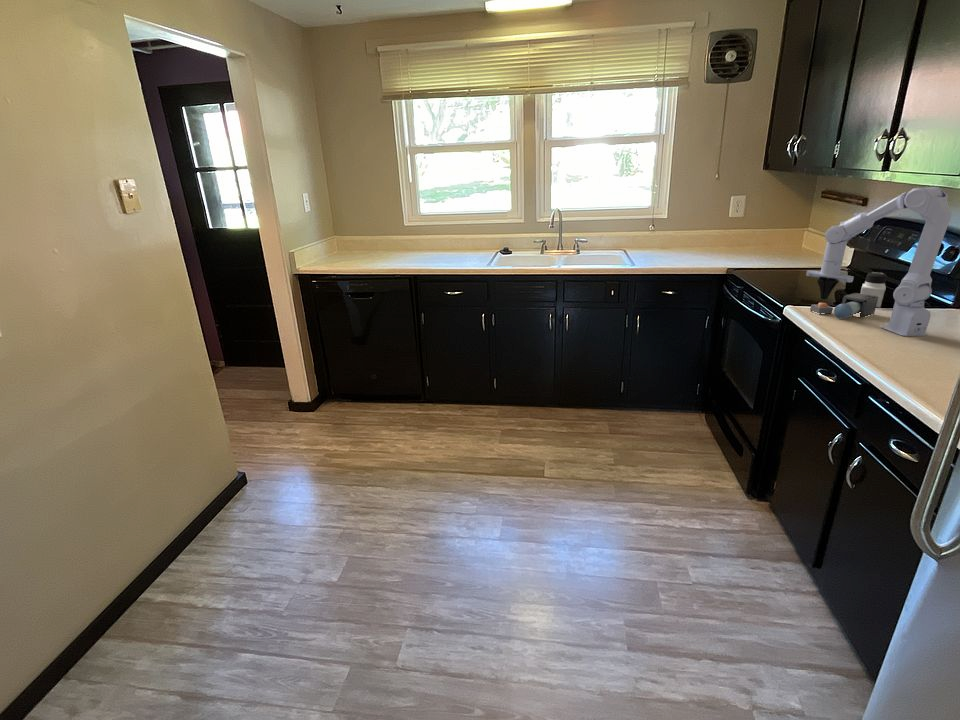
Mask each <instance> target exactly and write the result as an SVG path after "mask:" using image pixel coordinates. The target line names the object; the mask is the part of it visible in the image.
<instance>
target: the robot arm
mask: <svg viewBox="0 0 960 720" xmlns="http://www.w3.org/2000/svg"><path fill="white" fill-rule="evenodd" d="M948 197H949V195H948V194H947V193H946V192H945V190H943V189H942V188H941V187H939V186H929V187H914V188H912V189H910V190H909V191H905V192H902V194H899V195H898V196H895V198H893V199H891V200H889V201H888V202H886V203H884V204H882V205H881V206H879V207H876V208H875V209H873V210H871V211H870V212H865V211H863V212H856V213H854V214H853V217H851V218H849V219H847V220H845V221H841V222H839V225H832V226H830V227H829V228H827V230H826V231H825V234H824V239H825V240H826V245H825V250H824V254H823V258H822V263H821V268H820V270H812V269H810V270H809V269H808V270H806V274H805V276H806V277H813V278H818V279H817V281H816V282H817V284H818V286H819V291H820V292H819V293H820V299H821V300H828V299H829V297H830V294H831V292H832V291H833V290H834V288H835V287H836V286H837V284H839V282H846V283H853V281H854V278H855V277H854V276H855V275H854V276H852V275H850V274H849V275H848V274H844V273H841V269H842V265H843V260H844V257H845V252H846V247H847V244H848V242H849V241H850V240H852V238H853V237H855V236H857V235H859V234H861V233H863V232H865V231H867V230H869V229H871V228H873V225H874V223H875V222H876V221H879V220H881V219H883V218H885V217H887V216H889V215H891V214H893V213H896V212H898V211H900V210H902V209H909V210H911V211H913V212H915V213H917V214H918V215H919V216H920V217H922V219H923V220H924V221H925V224H924V226H923V228H922V230H921V231H922V232H921V235H920V238H919V240H918V243H917V246H916V249H915V252H914V255H913V257H912V260H911V263H910V266H909V269H908V272H907V273H906V274H905V275H904V277H902V279H901V280H900V281H901V282H900V284H899V285H898V286H897V287H896V288H895V289H894V291H893V293H892V294H893V295H892V297H893V299H894V304H893V308H892V312H891V314H890V319H889V322H888V325H880V328H881V329H885V330H886V331H890V332H891V333H893V334H897V335H900V336H901V337H914V336H915V337H916V336H917V337H919V336H921V337H922V336H928V333H926V332H927V329H928V326H929V323H930V320H931V312H930V311H929V310H928V309H926V308H925V301H926V300H927V299H930V297H931V295H932V292H933V291H932V282H933V278H932V277H931V273H932V270H933V267H934V265H935V262H936V260H937V256H938V254H939V251H940V248H941V245H942V242H943V240H944V237H945V234H946V232H947V229H948V226H949V224H950V221H951V218H952V213H951V209H950V206H949V203H948Z"/></svg>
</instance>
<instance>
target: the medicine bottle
mask: <svg viewBox="0 0 960 720" xmlns="http://www.w3.org/2000/svg"><path fill="white" fill-rule="evenodd" d="M887 278H888V275H886V273H883V272H868V273H867V274H866V277H865V281H864V283H862V286H861V289H860V293H859V294H865V295H871V296H877V297H879V298H878V301H877V305H876V308H879V309H880V308H881V307H882V304H883V301H884V297H885V294H886V287H887V286H886V281H887Z"/></svg>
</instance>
